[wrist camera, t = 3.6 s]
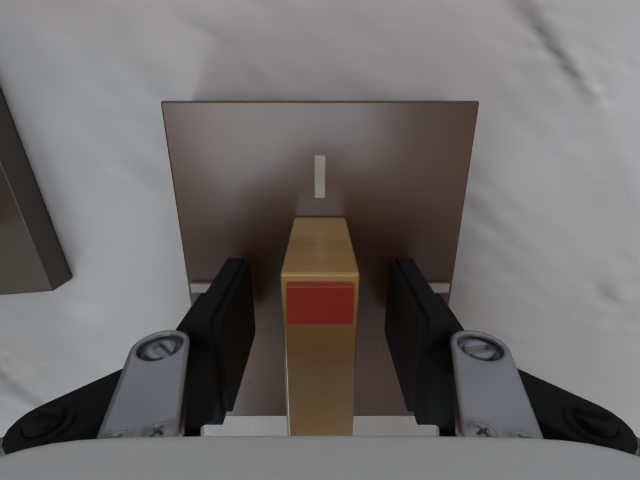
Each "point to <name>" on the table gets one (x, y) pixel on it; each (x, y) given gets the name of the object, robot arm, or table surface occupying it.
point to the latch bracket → (24, 223)
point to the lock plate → (319, 211)
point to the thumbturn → (319, 327)
